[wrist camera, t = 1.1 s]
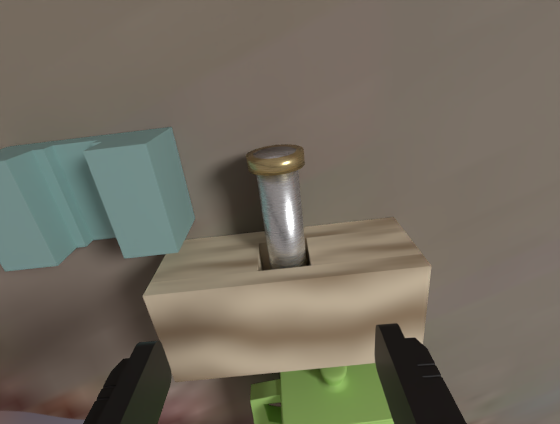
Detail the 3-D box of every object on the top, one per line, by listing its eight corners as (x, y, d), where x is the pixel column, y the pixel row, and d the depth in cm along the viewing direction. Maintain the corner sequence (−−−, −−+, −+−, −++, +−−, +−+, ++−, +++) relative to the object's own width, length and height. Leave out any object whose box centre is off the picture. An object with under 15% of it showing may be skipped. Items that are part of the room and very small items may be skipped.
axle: (243, 150, 24) (249, 164, 20) (295, 141, 24) (310, 154, 21) (273, 329, 31) (281, 363, 28) (312, 320, 32) (325, 351, 28)
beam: (172, 241, 29) (142, 296, 22) (393, 217, 28) (431, 265, 22) (195, 315, 33) (175, 382, 26) (390, 296, 32) (421, 358, 25)
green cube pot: (414, 321, 35) (464, 403, 26) (408, 385, 38) (449, 476, 30) (249, 337, 35) (243, 424, 26) (259, 400, 38) (257, 494, 30)
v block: (9, 146, 25) (-57, 167, 20) (171, 126, 25) (145, 143, 20) (51, 234, 28) (5, 271, 23) (195, 218, 28) (178, 252, 23)
